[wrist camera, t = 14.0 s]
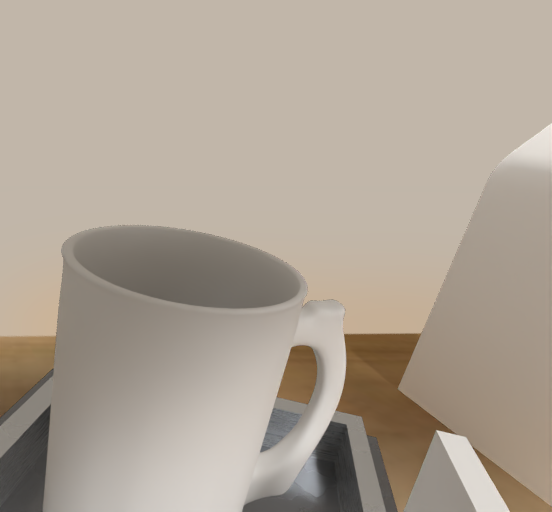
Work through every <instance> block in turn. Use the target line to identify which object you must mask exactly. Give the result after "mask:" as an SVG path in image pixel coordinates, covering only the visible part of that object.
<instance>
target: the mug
mask: <svg viewBox="0 0 552 512" xmlns="http://www.w3.org/2000/svg"><path fill="white" fill-rule="evenodd" d="M61 252H62V257H63V274H62V283H61V291H60V300H59V310H58V321H57V333H56V346H55V359H54V373H53V386H52V399H51V412H50V425H49V438H48V451H47V464H46V476H45V488H44V500H43V512H242V510H243V507H244V505H246V504H247V503H249V502H252V501H254V500H257V499H260V498H264V497H269V496H277V495H281V494H284V493H285V492H286V491H287V490H288V489H289V488H290V486H291V485H292V483H293V481H294V480H295V478H296V477H297V475H298V473H299V472H300V470H301V469H302V467H303V466H304V464H305V463H306V461H307V460H308V458H309V457H310V455H311V454H312V452H313V450H314V449H315V447H316V446H317V444H318V443H319V441H320V439H321V438H322V436H323V434H324V433H325V431H326V429H327V427H328V425H329V423H330V421H331V419H332V417H333V415H334V413H335V410H336V408H337V406H338V403H339V400H340V397H341V394H342V390H343V386H344V381H345V373H346V348H345V339H344V331H343V319H344V315H345V308H344V306H343V305H342V304H341V303H339V302H338V301H336V300H324V301H309V302H307V303H306V304H305V305H304V306H303V307H302V305H303V301H304V298H305V297H306V295H307V291H308V287H307V283H306V281H305V279H304V277H303V276H302V275H301V274H300V273H299V272H298V271H297V270H296V269H295V268H293V267H292V266H291V265H289V264H288V263H286V262H284V261H283V260H281V259H279V258H277V257H275V256H273V255H271V254H269V253H267V252H264V251H262V250H260V249H257V248H254V247H251V246H249V245H246V244H243V243H240V242H237V241H234V240H230V239H227V238H223V237H219V236H215V235H211V234H206V233H201V232H196V231H191V230H185V229H177V228H170V227H161V226H146V225H122V226H121V225H118V226H107V227H99V228H93V229H89V230H85V231H82V232H80V233H77V234H75V235H73V236H71V237H70V238H69V239H67V240H66V242H64V244H63V246H62V250H61ZM298 345H306V346H309V347H311V348H312V349H313V351H314V354H315V357H316V362H317V379H316V384H315V388H314V391H313V394H312V396H311V399H310V401H309V403H308V405H307V407H306V409H305V411H304V413H303V414H302V416H301V418H300V419H299V421H298V422H297V424H296V425H295V426H294V428H293V429H292V430H291V431H290V432H289V433H288V434H287V435H286V436H285V437H284V438H283V439H282V440H280V441H279V442H278V443H277V444H276V445H274V446H273V447H272V448H270V449H268V450H266V451H264V452H260V450H261V446H262V443H263V440H264V436H265V433H266V430H267V427H268V423H269V420H270V417H271V413H272V410H273V407H274V403H275V400H276V397H277V393H278V390H279V387H280V383H281V380H282V377H283V374H284V370H285V367H286V363H287V360H288V357H289V353H290V350H291V347H294V346H298Z"/></svg>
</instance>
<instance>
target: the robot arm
mask: <svg viewBox="0 0 552 512" xmlns="http://www.w3.org/2000/svg"><path fill="white" fill-rule="evenodd" d="M404 512H510V511H509V509H508V507H507V506H506V504H505V502H504V501H503V499H502V497H501V495H500V494H499V492H498V490H497V489H496V487H495V485H494V484H493V482H492V480H491V478H490V477H489V475H488V473H487V472H486V470H485V468H484V467H483V465H482V463H481V461H480V460H479V458H478V456H477V455H476V453H475V451H474V450H473V448H472V446H471V444H470V443H469V441H468V439H467V438H466V437H463V436H459V435H455V434H451V433H446V432H442V431H438V430H436V432H435V434H434V437H433V439H432V442H431V444H430V447H429V449H428V452H427V454H426V457H425V459H424V462H423V464H422V467H421V469H420V472H419V474H418V477H417V479H416V482H415V484H414V487H413V489H412V492H411V494H410V497H409V499H408V502H407V504H406V507H405V509H404Z"/></svg>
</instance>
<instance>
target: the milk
mask: <svg viewBox="0 0 552 512" xmlns="http://www.w3.org/2000/svg"><path fill="white" fill-rule="evenodd" d="M398 390H399V391H401V392H402V393H403V394H404V395H406V396H407V397H408V398H410V399H411V400H412V401H414V402H415V403H416V404H418V405H419V406H420V407H421V408H423V409H424V410H425V411H427V412H428V413H429V414H431V415H432V416H433V417H435V418H436V419H437V420H439V421H440V422H441V423H442V424H444V425H445V426H446V427H448V428H449V429H450V430H452V431H453V432H454V433H456V434H457V435H459V436H463V437H466V438H467V439H468V441H469V443H470V444H471V446H473V447H474V448H475V449H477V450H478V451H479V452H480V453H482V454H483V455H484V456H486V457H487V458H488V459H490V460H491V461H492V462H494V463H495V464H496V465H498V466H499V467H500V468H501V469H503V470H504V471H505V472H507V473H508V474H509V475H511V476H512V477H513V478H515V479H516V480H517V481H518V482H520V483H521V484H522V485H524V486H525V487H526V488H528V489H529V490H530V491H532V492H533V493H534V494H536V495H537V496H538V497H539V498H541V499H542V500H543V501H545V502H546V503H547V504H549V505H550V506H551V507H552V123H551V124H550V125H549V126H547V127H546V128H545V129H543V130H542V131H540V132H539V133H538V134H536V135H535V136H533V137H532V138H531V139H529V140H528V141H527V142H525V143H524V144H523V145H521V146H520V147H519V148H517V149H516V150H514V151H513V152H512V153H510V154H509V155H508V156H507V157H505V158H504V159H503V160H502V161H501V162H500V163H499V164H498V165H497V167H496V168H495V169H494V171H493V172H492V173H491V175H490V177H489V179H488V181H487V183H486V185H485V187H484V189H483V192H482V194H481V196H480V199H479V201H478V203H477V206H476V208H475V211H474V213H473V215H472V217H471V220H470V222H469V224H468V227H467V229H466V231H465V234H464V236H463V239H462V241H461V243H460V245H459V247H458V250H457V252H456V254H455V257H454V259H453V261H452V264H451V266H450V268H449V271H448V273H447V275H446V278H445V280H444V282H443V285H442V287H441V289H440V292H439V294H438V296H437V299H436V301H435V303H434V306H433V308H432V310H431V312H430V315H429V317H428V319H427V322H426V324H425V327H424V329H423V331H422V333H421V336H420V338H419V340H418V343H417V345H416V347H415V350H414V352H413V354H412V356H411V359H410V361H409V363H408V366H407V368H406V370H405V373H404V375H403V377H402V380H401V382H400V384H399V387H398Z"/></svg>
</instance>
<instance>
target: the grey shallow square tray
mask: <svg viewBox="0 0 552 512" xmlns="http://www.w3.org/2000/svg"><path fill="white" fill-rule="evenodd" d="M53 373H54V368H53V369H52V370H51V371H50V372H49V373H48V374H47V375H46V376H45V377H44V378H42V379H41V380H40V381H39V382H38V383H37V384H36V385H35V386H34V387H33V388H32V389H31V390H30V391H29V392H27V393H26V394H25V395H24V396H23V397H22V398H21V399H20V400H19V401H18V402H17V403H16V404H15V405H13V406H12V407H11V408H10V409H9V410H8V411H7V412H6V413H5V414H4V415H3V416H2V417H1V418H0V512H43V500H44V488H45V476H46V464H47V451H48V438H49V425H50V412H51V399H52V386H53ZM307 405H308V404H304V403H300V402H295V401H291V400H287V399H282V398H278V397H276V400H275V403H274V407H273V410H272V413H271V417H270V420H269V423H268V427H267V430H266V433H265V436H264V440H263V443H262V446H261V450H260V452H264V451H266V450H268V449H270V448H272V447H273V446H274V445H276V444H277V443H278V442H279V441H280V440H282V439H283V438H284V437H285V436H286V435H287V434H288V433H289V432H290V431H291V430H292V429H293V428H294V426H295V425H296V424H297V422H298V421H299V419H300V418H301V416H302V414H303V413H304V411H305V409H306V407H307ZM242 512H398V511H397V508H396V504H395V501H394V497H393V494H392V490H391V487H390V483H389V480H388V476H387V473H386V469H385V466H384V462H383V459H382V455H381V452H380V448H379V445H378V441H377V438H376V437H372V436H367V435H366V431H365V427H364V424H363V420H362V417H360V416H356V415H351V414H347V413H343V412H339V411H335V413H334V415H333V417H332V419H331V421H330V423H329V425H328V427H327V429H326V431H325V433H324V434H323V436H322V438H321V439H320V441H319V443H318V444H317V446H316V447H315V449H314V450H313V452H312V454H311V455H310V457H309V458H308V460H307V461H306V463H305V464H304V466H303V467H302V469H301V470H300V472H299V473H298V475H297V477H296V478H295V480H294V481H293V483H292V485H291V486H290V488H289V489H288V490H287V491H286V492H285V493H284V494H281V495H277V496H269V497H264V498H260V499H257V500H254V501H252V502H249V503H247V504H246V505H244V507H243V510H242Z"/></svg>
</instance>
